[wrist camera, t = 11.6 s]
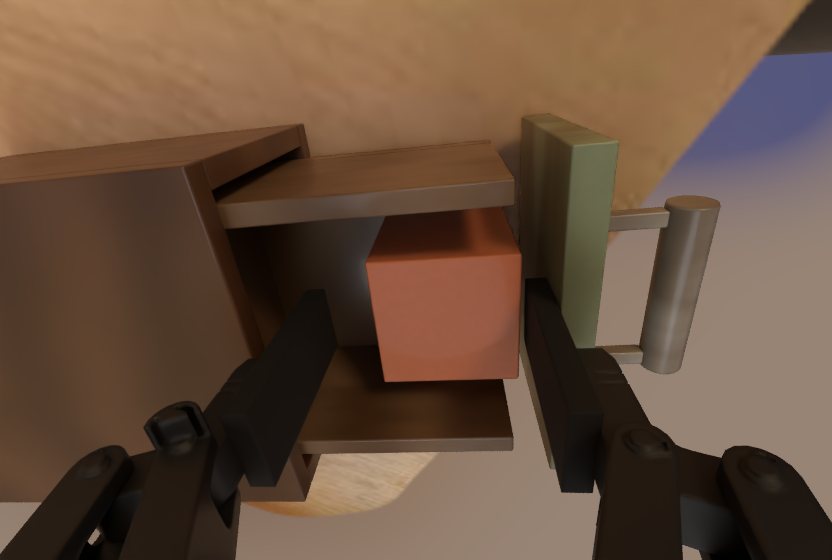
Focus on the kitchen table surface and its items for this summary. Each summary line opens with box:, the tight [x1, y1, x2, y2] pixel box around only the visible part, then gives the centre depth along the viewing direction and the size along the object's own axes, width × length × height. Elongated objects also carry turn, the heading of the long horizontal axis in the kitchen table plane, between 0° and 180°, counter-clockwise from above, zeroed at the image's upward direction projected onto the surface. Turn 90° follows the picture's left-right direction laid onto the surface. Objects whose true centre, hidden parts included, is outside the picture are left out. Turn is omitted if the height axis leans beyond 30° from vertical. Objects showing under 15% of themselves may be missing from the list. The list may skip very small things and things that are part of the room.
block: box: [365, 207, 522, 382], centre depth 17 cm, size 5×5×5 cm
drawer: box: [211, 113, 720, 469], centre depth 17 cm, size 19×13×8 cm, turn 96°
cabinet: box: [0, 124, 321, 502], centre depth 19 cm, size 16×14×10 cm
